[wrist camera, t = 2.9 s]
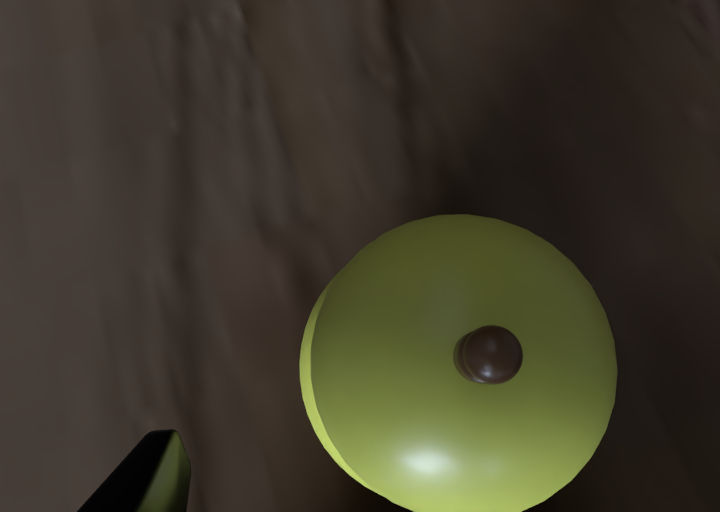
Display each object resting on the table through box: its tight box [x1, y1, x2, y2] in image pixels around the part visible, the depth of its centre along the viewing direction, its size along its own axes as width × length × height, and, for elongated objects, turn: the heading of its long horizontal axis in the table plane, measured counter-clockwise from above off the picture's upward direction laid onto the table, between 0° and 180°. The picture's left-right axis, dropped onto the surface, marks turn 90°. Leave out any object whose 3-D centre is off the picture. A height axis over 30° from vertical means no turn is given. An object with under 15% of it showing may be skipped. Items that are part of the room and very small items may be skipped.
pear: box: [300, 214, 618, 512], centre depth 12 cm, size 7×7×12 cm
